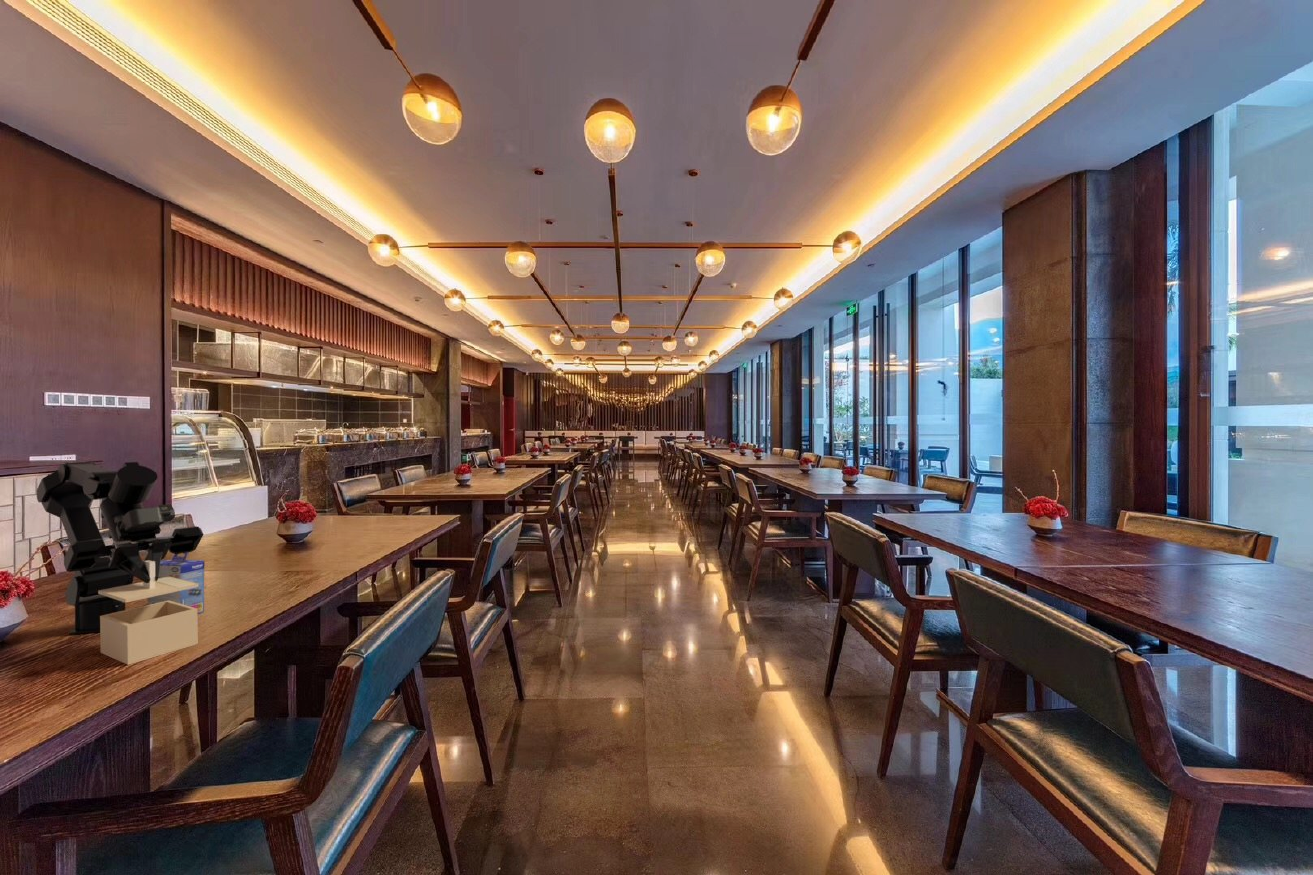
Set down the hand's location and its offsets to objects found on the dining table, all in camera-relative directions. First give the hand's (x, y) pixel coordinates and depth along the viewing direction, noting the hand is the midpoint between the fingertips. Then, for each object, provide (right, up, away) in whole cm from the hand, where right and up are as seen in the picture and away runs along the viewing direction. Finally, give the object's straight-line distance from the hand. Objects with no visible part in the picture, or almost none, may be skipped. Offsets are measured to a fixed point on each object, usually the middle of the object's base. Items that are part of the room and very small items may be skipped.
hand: (152, 580), depth 97 cm
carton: (-1, -13, +1) cm, 13 cm away
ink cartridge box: (-14, -14, +20) cm, 28 cm away
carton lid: (-1, -2, +1) cm, 2 cm away
